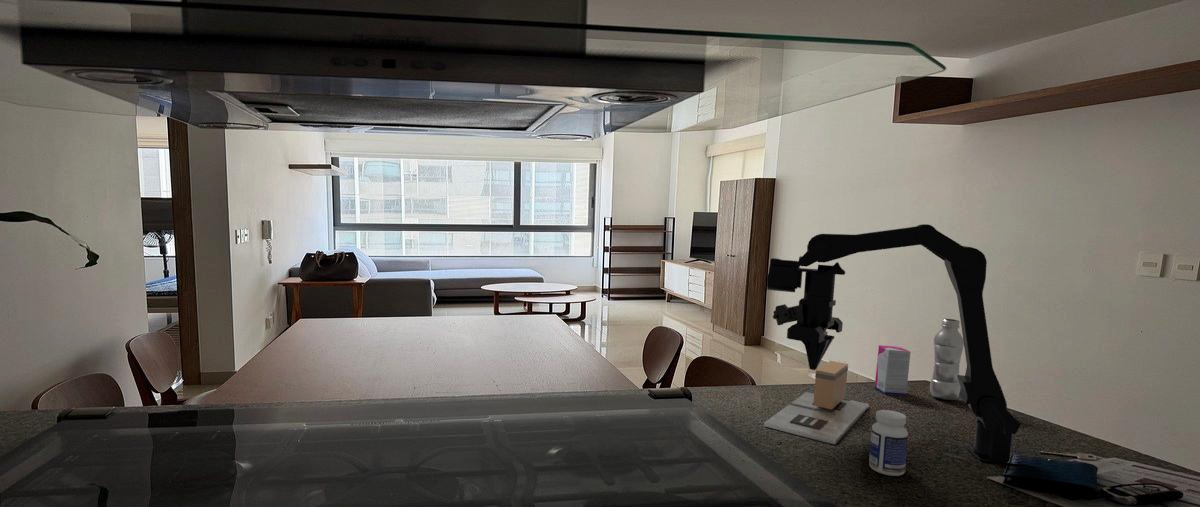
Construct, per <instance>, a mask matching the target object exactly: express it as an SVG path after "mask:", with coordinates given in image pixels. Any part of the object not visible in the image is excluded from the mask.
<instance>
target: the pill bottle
mask: <svg viewBox="0 0 1200 507" xmlns="http://www.w3.org/2000/svg"><path fill="white" fill-rule="evenodd" d="M875 420H876V422H874V423H873V424H872V426H871V430H870V431H871V434H870V443H869V444H870V445H869V457H868V458H869V461H868V464H869V467H870V468H871V469H872V470H873V471H874V472H877V473H879V474H882V475H885V476H891V477H892V476H894V477H900V476H903V475H904V474H905V473H906V465H907V453H908V452H907V451H908V443H909V442H908V441H909V433H908V430H907V428H905V425H906V424H907V415H905V414H903V413H901V412H898V411H894V410H887V409H881V410H877V411H876V412H875Z"/></svg>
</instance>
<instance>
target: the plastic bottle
mask: <svg viewBox="0 0 1200 507" xmlns="http://www.w3.org/2000/svg"><path fill="white" fill-rule="evenodd" d="M960 324H961V321H960V320H959V319H953V318H942V320H941V329H940V330H939V331H938V332H937V333H936V334H935V335H934V338H933V346H934V347H933V348H934V366H933V372H932V376H931V379H930V384H929V393H930V394H931V395H932V396H933V397H935V398H937V399H941V400H945V401H946V400H949V401H955V400H957V399H958V398H959V397H960V395H959V393H960V384H959V381H958V378H957V375H960V365H961V364H960V363H961V358H962V355H963V350H964V341H963V335H962V334H961V333H960V331H959V329H960Z"/></svg>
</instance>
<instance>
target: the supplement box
mask: <svg viewBox="0 0 1200 507" xmlns="http://www.w3.org/2000/svg"><path fill="white" fill-rule="evenodd" d="M877 351H878V352H877V359H876V360H877V361H876V370H875V378H874V389H875V390H877V391H879V392H880V393H882V394H883V395H890V396H893V395H894V396H906V395H907V393H908V392H907V391H908V390H907V389H908V380H909V372H910V371H909V370H910V363H911V362H910V360H911V351H909V350H908V349H905V348H903V347H901V346H895V345H894V346H892V345H880V344H879V345H878V350H877Z"/></svg>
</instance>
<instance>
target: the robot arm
mask: <svg viewBox="0 0 1200 507" xmlns="http://www.w3.org/2000/svg"><path fill="white" fill-rule="evenodd" d="M806 246H807V247H806V250H807V251H806V252H805V253H804V254H803V255H802V256H799V257H798V260H790V259H789V260H788V259H780V258H778V257H777V258H776V257H772V258H770V262H769V268H768V273H767V276H766V289H767V291H774V292H775V291H776V292H786V293H796V290H797V289H801V288H802V285H803V284H802V282H803V272H804V273H805V274H804V275H805V276H804V277H805V278H804V288H803V289H804V291H803V297H802V298H800V299H799V301H798V305H793V306H789V307H788V306H787V304H780V305H776V306H775V309H774V311H773V315H772V319H773V320H776V324H777V326H782V325H784V324H787V323H792V322H796V323H793V324H792V325H791V326H789V327H788V328H787V329H786V330H787V332H786V339H789V340H793V341H799V342H802V344H803V345H804V347H805V348H804V349H805V352H806V357H807V361H808V367H809V369H810V370H813V371H816V370H817V369H818V367H819V365H820V364H821V362H822V359H823V358H824V356H825V355H826V352H827V351H828V350H829V347H830V346H831V344H832V342H833V340H835V336H834V335H829V333H828V331H827V330H831V331H835V332H836V333H838V334H839V333H841V332H842V331H843V324H844V323H843V321H842V320H841V319H840V318H839V317H834V316H833V308H834V307H835V306H836V305H837V304H836V303H837V300H835V299H834V295H835V284H836V283H835V282H836V275H839V276H840V275H841V276H845V274H846V270H845V269H843V268H842V267H841V265H840V263H839V261H838V262H837V261H836V262H835V263H834V264H833V265H828V264H817V268H807V267H809V266H812V265H813V264H814V263H829V262H832V261H835V260H838V259H842V258H844V257H848V256H852V255H854V254H858V253H864V252H872V251H880V250H881V251H882V250H889V249H898V248H905V247H914V246H922V247H923V248H925V249H927V250H928V251H929V252H930V253H931V254H934V255H935V256H936V257H938V258H939V259H941V260H943V261H944V262H943V263H944V266H945V269H946V272H947V274H948V277H949V279H950V282H951V285H952V287H953V289H954V291H955V294H956V297H957V304H958V306H957V307H958V311H959V312H958V313H959V318H960V320H959V321H960V325H961V333H962V334H961V335H962V338H963V341H964V347H963V349H964V354H965V355H964V356H965V362H966V368H965V369H966V370H965V374H964V375H961V374H959V375H957V378H958V381H959V384H960V393H959V397H960V398H961V399H962V400H963V402H964V403H965V404H966V405H967V406H968V407H969V409H970V410H971V412H973V414H974V416H975V417H977V419H976V424H975V425H976V426H975V433H974V442H973V444H974V445H965V449H967V450H968V452H970V453H971V454H972V455H973V456H974V457H975V458H977V459H978V460H979V461H981V462H986V463H987V462H989V463H994V464H996V463H997V464H1005V465H1008V464H1007V462H1008V461H1009V459H1010V456H1011V454H1012V453H1011V452H1012V451H1011V450H1012V446H1013V445H1012V443H1013V435H1016V434H1017V432H1018V431H1019V429H1020V427H1021V423H1020V422H1019V420H1018V419H1016V417H1014V415H1013V414H1011V412H1010V411H1009V410H1008V404H1007V400H1006V397H1005V395H1004V392H1003V389H1002V386H1001V384H1000V382H999V380H998V377H997V375H996V373H995V371H994V368H993V360H992V354H991V353H992V352H991V347H990V338H989V332H988V326H987V325H988V324H987V319H986V318H987V316H986V311H985V304H984V297H983V296H984V295H983V292H984V288H985V283H986V276H987V266H988V265H987V261H988V260H987V259H986V255H985V254H984V253H983V251H980V249H979V248H978V249H977V248H975V247H973V246H966V245H962V244H960V243H958V242H957V241H955V240H953V239H952V238H950V237H948V236H947V235H946V234H944V233H942V232H941V231H939V230H937V229H936V227H934V226H933V225H931V224H926V223H925V224H924V223H922V224H918V225H915V226H909V227H908V226H907V227H902V228H901V227H900V228H896V229H894V228H893V229H886V230H879V231H873V232H864V233H857V234H847V233H845V234H844V233H819V234H816V235H814V236H812V237H811V239H809V241H808V243H807V245H806ZM804 267H806V268H804Z"/></svg>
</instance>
